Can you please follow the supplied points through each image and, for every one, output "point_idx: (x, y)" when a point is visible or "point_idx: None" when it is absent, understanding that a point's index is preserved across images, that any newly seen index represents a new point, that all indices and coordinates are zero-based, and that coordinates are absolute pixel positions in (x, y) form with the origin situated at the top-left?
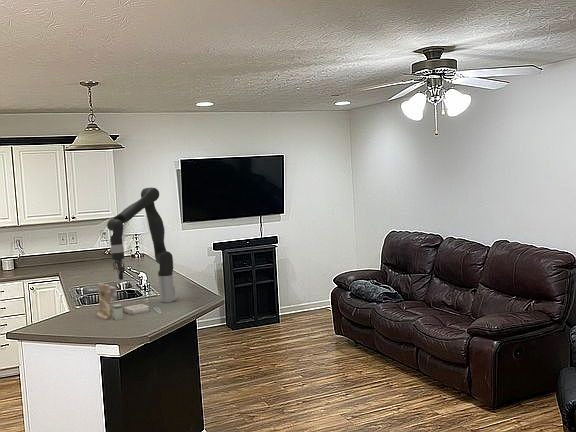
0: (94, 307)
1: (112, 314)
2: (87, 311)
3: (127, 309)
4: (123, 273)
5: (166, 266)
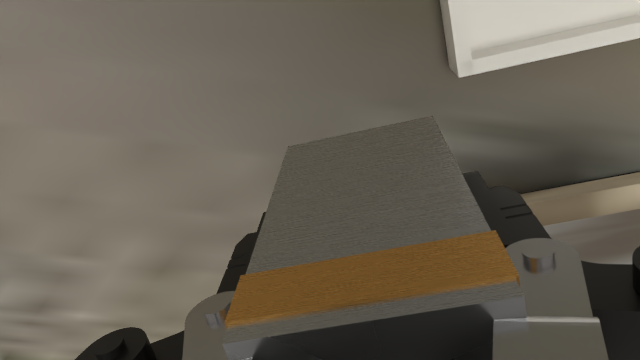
0: (31, 266)
1: (594, 201)
2: (173, 326)
3: (566, 51)
4: (475, 208)
5: None
